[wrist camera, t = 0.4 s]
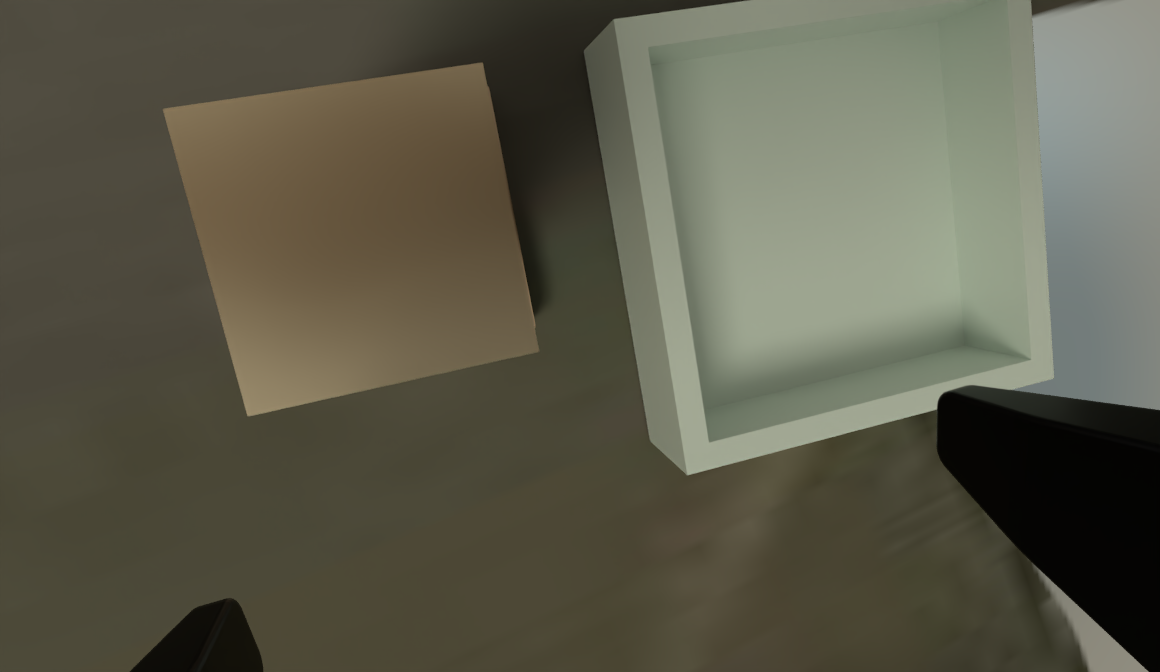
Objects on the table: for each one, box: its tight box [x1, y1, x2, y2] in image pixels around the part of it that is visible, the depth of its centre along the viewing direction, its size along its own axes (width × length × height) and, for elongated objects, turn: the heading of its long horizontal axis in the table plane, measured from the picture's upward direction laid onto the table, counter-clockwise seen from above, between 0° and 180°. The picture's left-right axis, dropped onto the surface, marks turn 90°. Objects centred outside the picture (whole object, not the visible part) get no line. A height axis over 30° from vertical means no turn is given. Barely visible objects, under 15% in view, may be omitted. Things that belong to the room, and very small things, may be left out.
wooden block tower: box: [163, 62, 539, 416], centre depth 16 cm, size 7×7×12 cm
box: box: [584, 0, 1054, 475], centre depth 23 cm, size 13×13×4 cm
